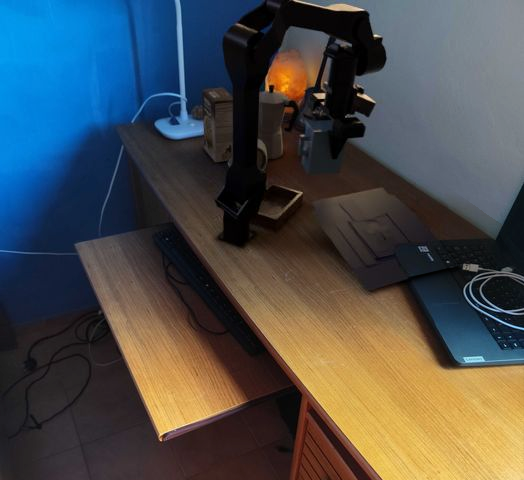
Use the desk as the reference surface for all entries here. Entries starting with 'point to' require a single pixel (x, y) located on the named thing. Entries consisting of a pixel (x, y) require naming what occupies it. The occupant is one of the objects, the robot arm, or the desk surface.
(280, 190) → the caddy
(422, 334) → the desk surface
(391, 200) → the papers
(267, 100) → the coffeepot
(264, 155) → the ceramic mug
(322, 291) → the desk surface
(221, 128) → the coffee box
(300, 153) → the tabbed grey block
